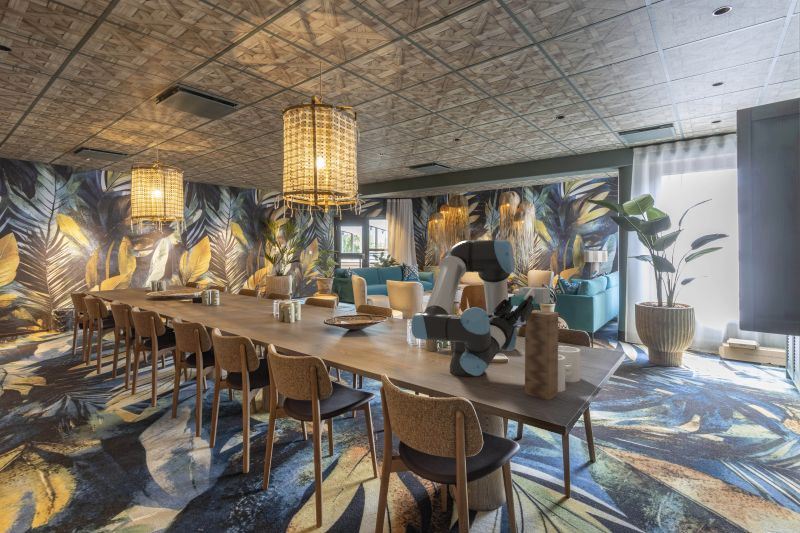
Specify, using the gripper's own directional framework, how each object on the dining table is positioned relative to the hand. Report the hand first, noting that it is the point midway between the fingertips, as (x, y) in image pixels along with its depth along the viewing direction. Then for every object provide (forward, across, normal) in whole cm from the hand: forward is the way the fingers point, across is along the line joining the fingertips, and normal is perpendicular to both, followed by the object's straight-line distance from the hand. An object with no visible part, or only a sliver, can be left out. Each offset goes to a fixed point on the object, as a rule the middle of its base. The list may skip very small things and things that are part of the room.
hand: (528, 291), depth 135 cm
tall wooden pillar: (-10, 0, -38) cm, 40 cm away
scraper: (-3, 0, -3) cm, 4 cm away
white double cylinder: (+5, -1, -48) cm, 48 cm away
